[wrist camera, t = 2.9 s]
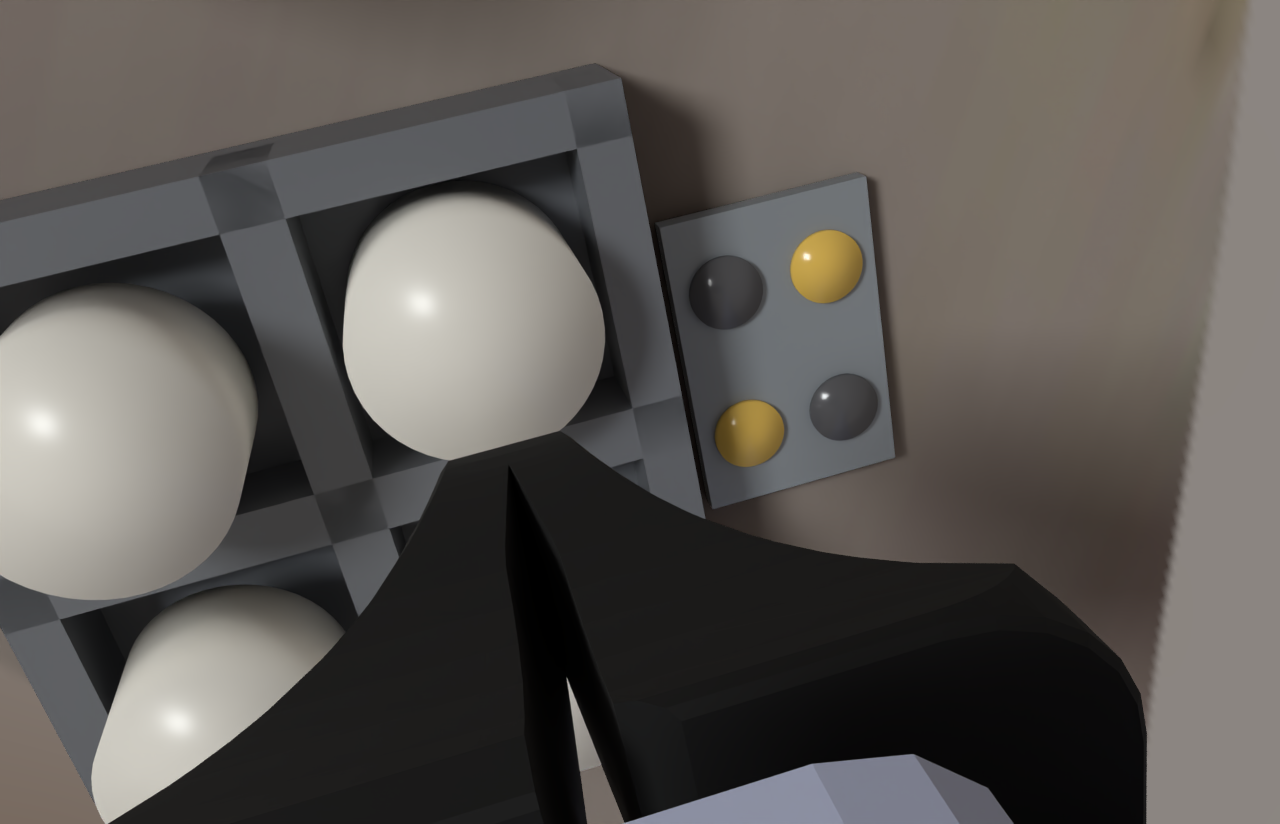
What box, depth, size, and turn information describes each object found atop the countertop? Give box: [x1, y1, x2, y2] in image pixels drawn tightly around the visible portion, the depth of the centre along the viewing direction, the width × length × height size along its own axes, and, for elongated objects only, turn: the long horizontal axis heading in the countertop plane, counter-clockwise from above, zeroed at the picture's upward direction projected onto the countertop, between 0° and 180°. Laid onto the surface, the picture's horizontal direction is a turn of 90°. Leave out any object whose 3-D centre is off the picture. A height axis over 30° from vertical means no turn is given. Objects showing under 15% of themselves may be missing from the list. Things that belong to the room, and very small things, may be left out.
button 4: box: [0, 283, 258, 600], centre depth 17 cm, size 4×4×3 cm
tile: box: [655, 172, 895, 509], centre depth 22 cm, size 6×4×1 cm, turn 11°
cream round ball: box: [91, 585, 345, 824], centre depth 19 cm, size 4×4×3 cm
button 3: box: [343, 181, 605, 460], centre depth 18 cm, size 4×4×3 cm
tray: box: [0, 63, 705, 805], centre depth 20 cm, size 12×12×2 cm
